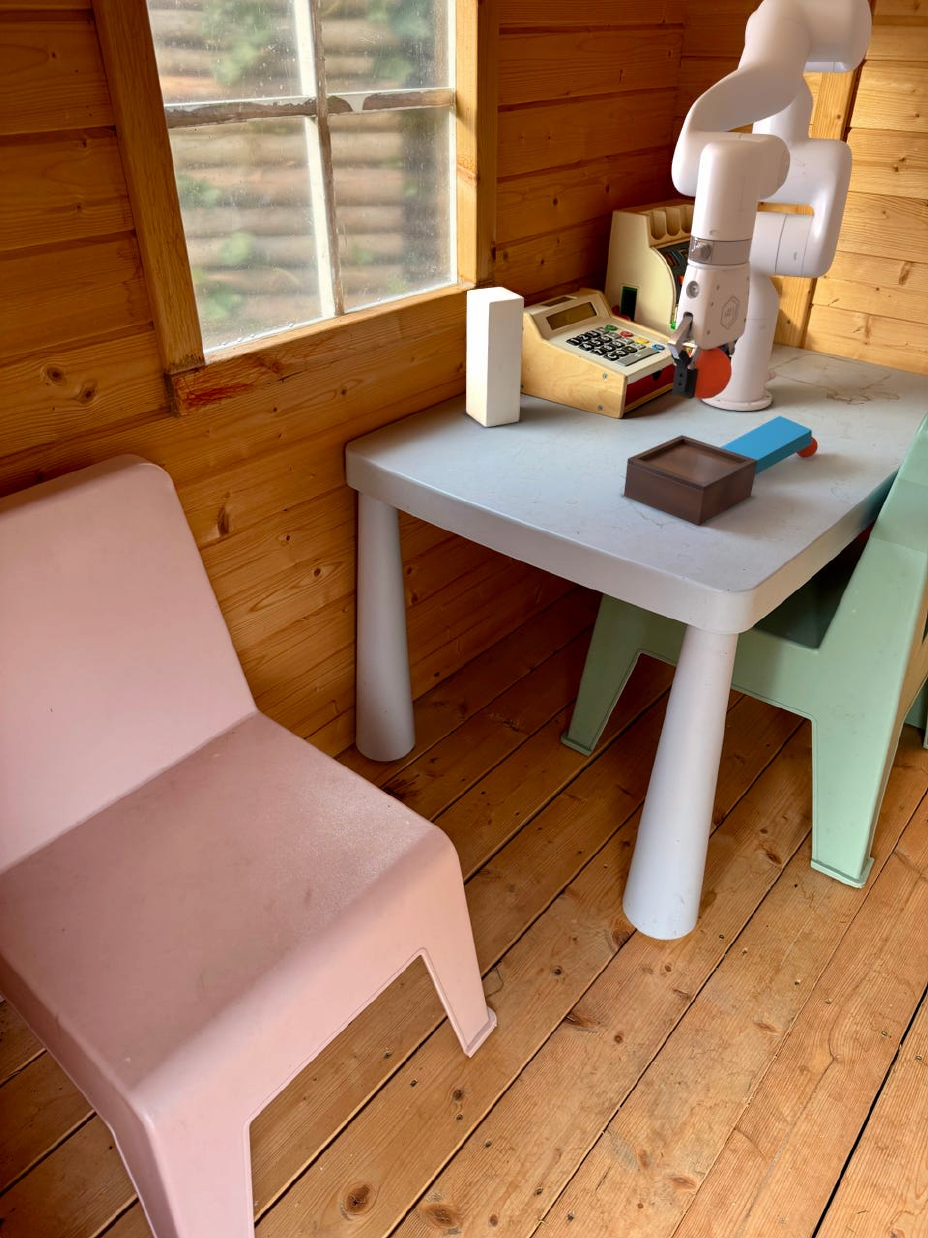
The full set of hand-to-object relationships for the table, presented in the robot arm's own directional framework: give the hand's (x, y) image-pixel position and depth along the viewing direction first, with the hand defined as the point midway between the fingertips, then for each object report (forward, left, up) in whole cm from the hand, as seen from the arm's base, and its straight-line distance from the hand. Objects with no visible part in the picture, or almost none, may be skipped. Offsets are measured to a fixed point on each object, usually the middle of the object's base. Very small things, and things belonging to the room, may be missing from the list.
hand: (700, 388), depth 124 cm
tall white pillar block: (-2, -41, -16) cm, 45 cm away
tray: (0, +1, -16) cm, 16 cm away
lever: (-18, +3, -16) cm, 24 cm away
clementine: (0, 0, -1) cm, 1 cm away
